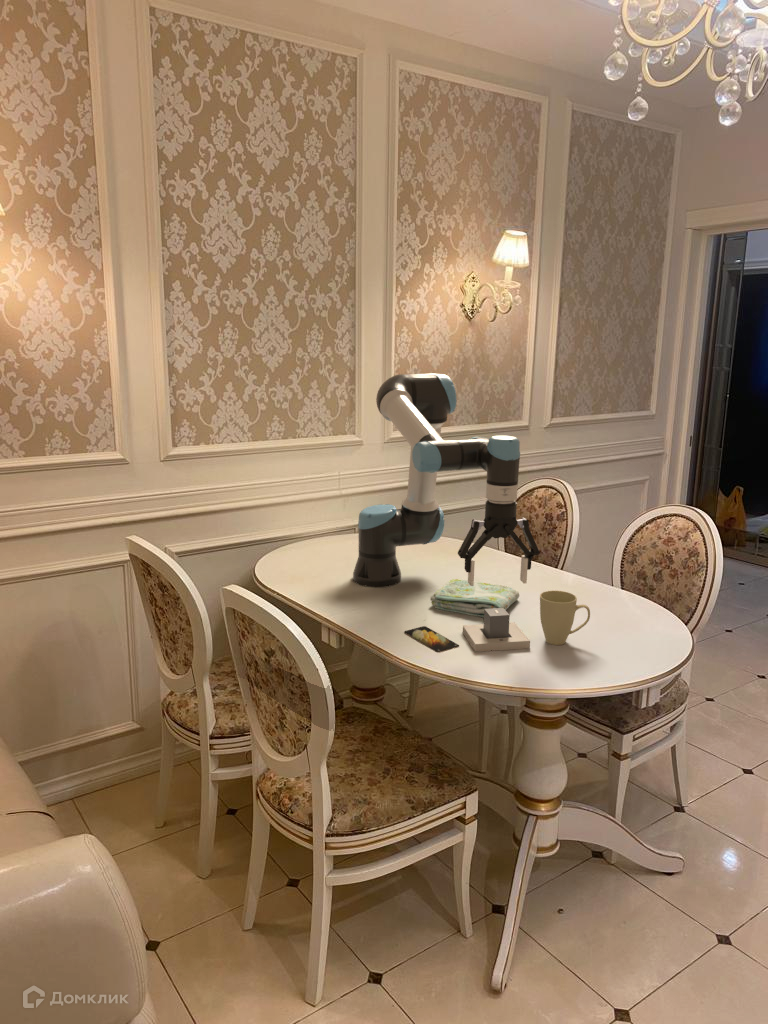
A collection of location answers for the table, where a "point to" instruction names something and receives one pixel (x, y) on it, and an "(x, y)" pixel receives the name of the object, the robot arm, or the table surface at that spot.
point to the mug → (559, 615)
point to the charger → (496, 623)
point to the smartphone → (431, 639)
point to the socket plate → (495, 639)
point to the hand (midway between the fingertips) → (497, 583)
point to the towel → (473, 597)
